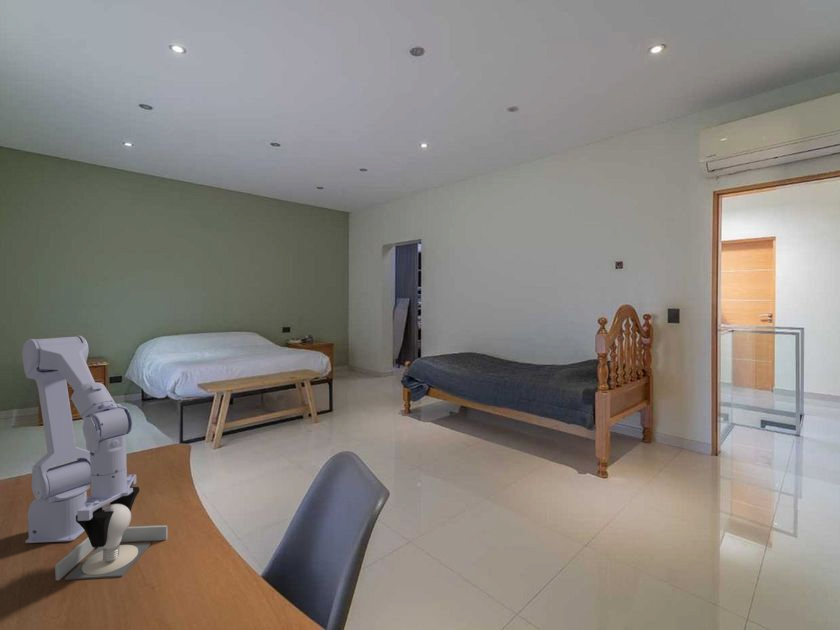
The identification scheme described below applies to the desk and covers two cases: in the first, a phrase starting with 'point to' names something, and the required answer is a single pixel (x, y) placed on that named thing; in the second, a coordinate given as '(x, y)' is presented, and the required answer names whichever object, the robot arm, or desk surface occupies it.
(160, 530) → the acrylic fence
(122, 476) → the robot arm
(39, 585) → the desk surface
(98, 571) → the mat
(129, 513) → the lightbulb
